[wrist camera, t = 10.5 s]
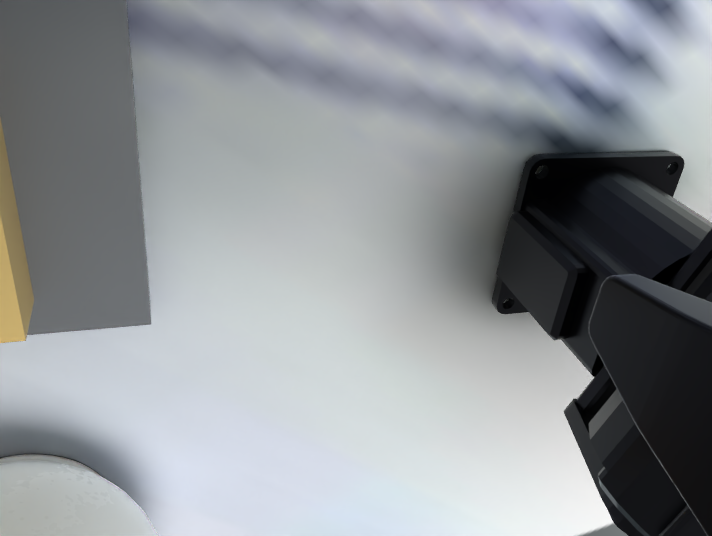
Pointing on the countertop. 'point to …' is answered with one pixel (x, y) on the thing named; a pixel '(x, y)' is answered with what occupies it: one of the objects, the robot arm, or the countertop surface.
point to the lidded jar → (64, 500)
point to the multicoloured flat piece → (69, 171)
